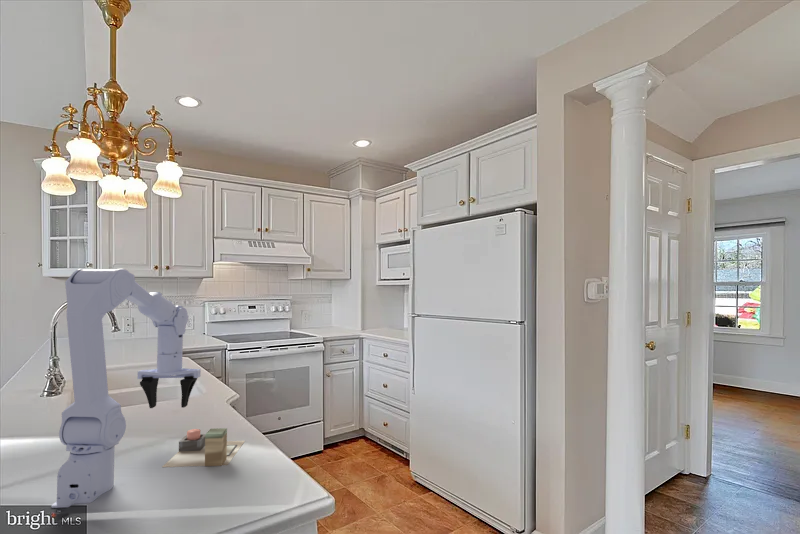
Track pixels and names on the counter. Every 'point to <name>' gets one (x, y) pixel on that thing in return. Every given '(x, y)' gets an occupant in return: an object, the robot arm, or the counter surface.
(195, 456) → the brown framed board
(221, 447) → the green topped wooden block
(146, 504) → the counter surface
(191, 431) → the button
